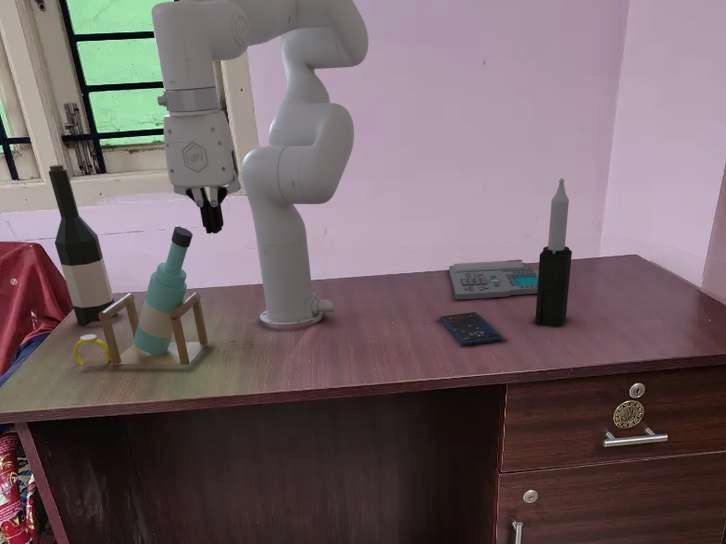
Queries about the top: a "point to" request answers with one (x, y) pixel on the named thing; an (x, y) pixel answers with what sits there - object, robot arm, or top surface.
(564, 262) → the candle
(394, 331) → the top surface
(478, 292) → the office telephone
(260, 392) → the top surface
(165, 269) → the bottle
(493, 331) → the smartphone
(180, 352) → the caddy
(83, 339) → the watch
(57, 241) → the wine bottle
